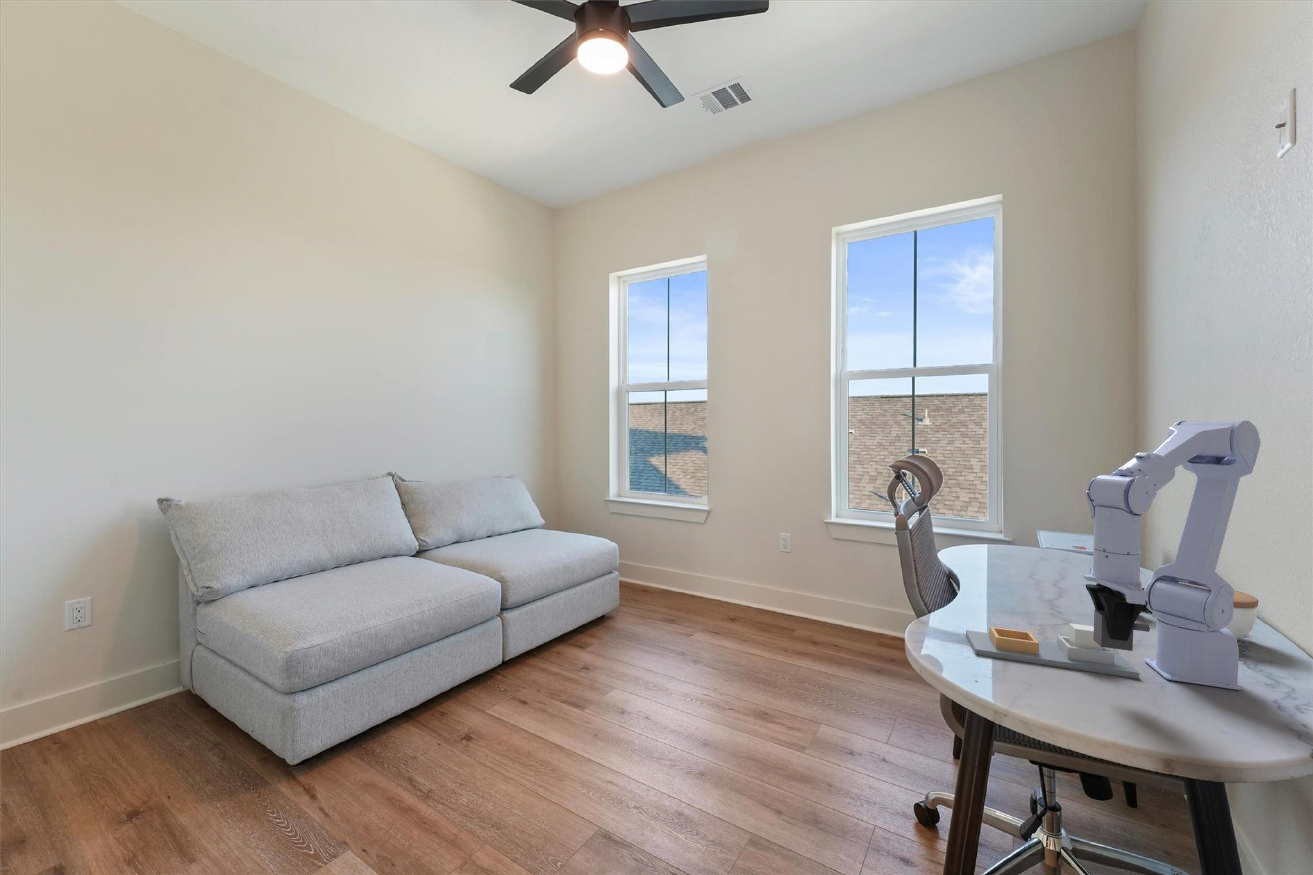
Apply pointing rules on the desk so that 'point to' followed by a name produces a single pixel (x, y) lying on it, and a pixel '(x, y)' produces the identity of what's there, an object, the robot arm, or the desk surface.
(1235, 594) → the white lidded bowl
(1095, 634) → the dark gray plug
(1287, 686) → the desk surface
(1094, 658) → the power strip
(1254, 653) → the desk surface
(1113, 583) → the robot arm
